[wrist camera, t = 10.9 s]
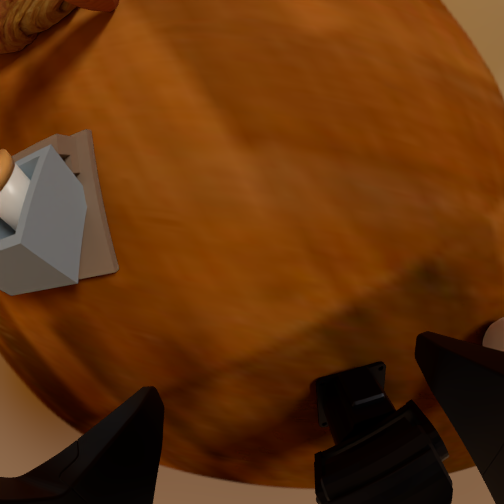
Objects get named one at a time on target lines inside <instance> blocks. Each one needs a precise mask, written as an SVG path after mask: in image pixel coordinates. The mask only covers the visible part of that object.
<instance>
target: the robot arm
mask: <svg viewBox="0 0 504 504" xmlns="http://www.w3.org/2000/svg"><path fill="white" fill-rule="evenodd" d="M415 359H416V361H417V363H418V365H419V367H420V369H421V371H422V373H423V375H424V377H425V379H426V381H427V383H428V385H429V387H430V389H431V391H432V392H433V394H434V396H435V397H436V399H437V400H438V402H439V404H440V405H441V407H442V408H443V410H444V411H445V413H446V415H447V416H448V418H449V420H450V421H451V423H452V425H453V426H454V428H455V430H456V431H457V433H458V435H459V436H460V438H461V440H462V441H463V443H464V445H465V447H466V448H467V450H468V452H469V454H470V455H471V457H472V459H473V461H474V463H475V464H476V466H477V468H478V470H479V472H480V474H481V475H483V476H482V478H483V480H484V481H485V483H486V485H487V487H488V489H489V491H490V493H491V495H492V497H493V499H494V501H495V503H496V504H504V351H500V350H496V349H492V348H488V347H484V346H481V345H477V344H473V343H469V342H466V341H462V340H458V339H455V338H451V337H447V336H444V335H440V334H436V333H433V332H429V331H426V332H423V333H420V334H419V335H418V336H417V339H416V347H415ZM379 367H380V368H379ZM385 371H386V365H385V364H384V363H383V362H382V361H381V362H377V363H374V364H370V365H367V366H364V367H360V368H356V369H353V370H349V371H345V372H342V373H338V374H334V375H330V376H326V377H321V378H319V379H317V381H316V393H317V406H318V421H319V425H320V427H327V426H329V428H330V431H331V434H332V437H333V440H334V443H335V446H333V447H331V448H329V449H327V450H325V451H323V452H321V451H320V452H318V453H316V454H315V462H314V470H315V493H316V496H317V497H316V501H317V503H318V504H451V501H452V493H453V488H452V480H451V478H450V476H449V474H448V472H447V470H446V469H445V467H444V465H443V463H442V461H443V460H445V459H446V458H448V457H449V454H448V451H447V449H446V447H445V445H444V443H443V441H442V439H441V437H440V436H439V434H438V432H437V431H436V429H435V428H434V426H433V425H432V424H431V422H430V421H429V420H428V419H427V417H426V416H425V415H424V414H423V412H422V411H421V410H420V409H419V408H418V406H417V405H416V404H415V403H414V402H413V400H412V399H411V400H410V401H408V402H407V403H406V405H404V406H403V407H401V408H400V409H398V410H397V411H396V409H395V408H394V406H393V404H392V403H391V401H390V400H389V398H388V396H387V395H386V393H385V392H384V382H385ZM322 382H324V383H322ZM320 383H322V384H320ZM163 422H164V405H163V402H162V400H161V398H160V396H159V393H158V391H157V389H156V388H155V387H153V386H148V387H142V388H141V389H140V390H139V391H137V392H136V393H135V394H134V395H133V396H131V397H130V398H129V399H128V400H126V401H125V402H124V403H123V404H121V405H120V406H119V407H118V408H117V409H115V410H114V411H113V412H112V413H110V414H109V415H108V416H107V417H105V418H104V419H103V420H102V421H100V422H99V423H98V424H97V425H95V426H94V427H93V428H91V429H90V430H89V431H88V432H86V433H85V434H84V435H83V436H81V437H80V438H79V439H78V441H75V442H74V443H72V444H71V445H70V446H69V447H67V448H66V449H64V450H63V451H62V452H60V453H59V454H57V455H56V456H54V457H52V458H51V459H49V460H48V461H46V462H45V463H43V464H41V465H40V466H38V467H36V468H34V469H33V470H31V471H29V472H28V473H26V474H24V475H22V476H19V477H13V478H5V477H0V504H153V499H154V491H155V485H156V479H157V473H158V467H159V461H160V456H161V450H162V440H163ZM324 422H325V423H324Z"/></svg>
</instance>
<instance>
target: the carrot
mask: <svg viewBox="0 0 504 504" xmlns="http://www.w3.org/2000/svg"><path fill="white" fill-rule="evenodd" d="M65 1H67V2H69V3H71V4H73V5H76V6H78V7H80V8H83V9H88V10H93V11H104V12H111V11H113V10H114V9H116V7H117V6H118V3H119V0H65Z"/></svg>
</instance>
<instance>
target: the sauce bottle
mask: <svg viewBox="0 0 504 504" xmlns="http://www.w3.org/2000/svg"><path fill="white" fill-rule="evenodd" d="M482 345H483V346H484V347H488V348H492V349H496V350H500V351H504V317H503V318H501V319H499V320H498V321H496V322H494V323H492V324H491V325H490V326H489V328H488V329H487V331H486V333H485V335H484V338H483V343H482Z"/></svg>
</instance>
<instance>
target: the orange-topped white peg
mask: <svg viewBox="0 0 504 504" xmlns="http://www.w3.org/2000/svg"><path fill="white" fill-rule="evenodd" d="M30 181H31V180H30V179H29V178H28V177H27V176H26V175H25V174H24V172H23V171H22V170H21V169H20V168H19V167H18V165H17V164H16V163H15V161H14V159H13V158H12V157H11V156H10V155H9V153H8V152H7V151H6V150H5V149H1V150H0V218H1V219H3V220H4V221H5V222H6V223H7V224H8V225H9V226H11V227H12V228H13V229H14V230H15V231H16V229H17V225H18V221H19V217H20V213H21V210H22V206H23V203H24V200H25V196H26V193H27V190H28V187H29V184H30Z"/></svg>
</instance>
